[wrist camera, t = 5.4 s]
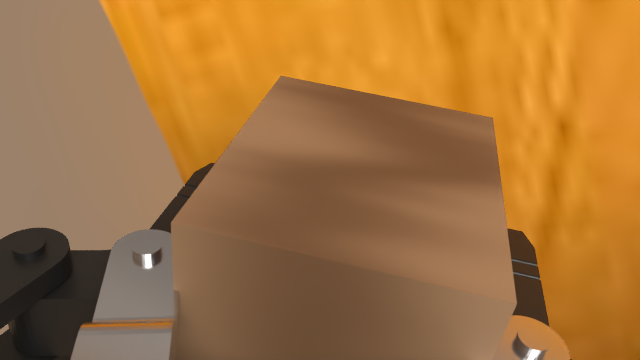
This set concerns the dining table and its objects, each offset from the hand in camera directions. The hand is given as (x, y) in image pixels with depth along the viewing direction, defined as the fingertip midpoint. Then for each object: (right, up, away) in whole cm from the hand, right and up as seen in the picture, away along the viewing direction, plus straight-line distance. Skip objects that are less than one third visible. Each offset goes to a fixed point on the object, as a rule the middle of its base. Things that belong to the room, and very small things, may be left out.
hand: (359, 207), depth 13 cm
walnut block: (0, +1, +1) cm, 1 cm away
